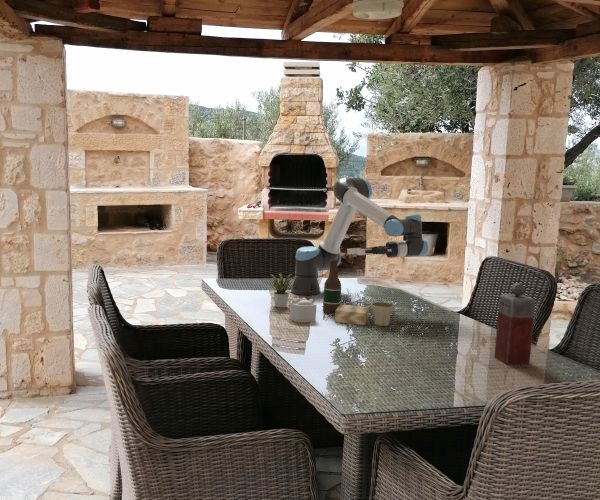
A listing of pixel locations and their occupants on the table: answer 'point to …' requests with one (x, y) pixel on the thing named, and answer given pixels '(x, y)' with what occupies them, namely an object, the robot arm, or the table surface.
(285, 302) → the house plant
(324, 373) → the table surface
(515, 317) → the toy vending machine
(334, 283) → the beer bottle
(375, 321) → the flower pot
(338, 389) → the table surface
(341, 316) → the olive wood block
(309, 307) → the lumpy-topped squat cylinder
